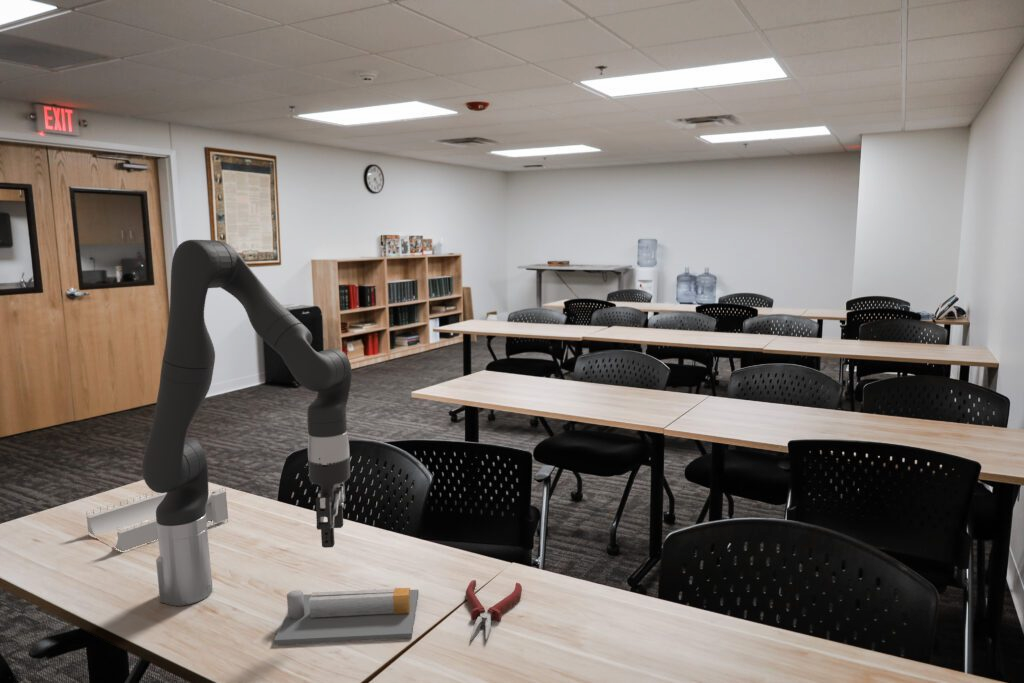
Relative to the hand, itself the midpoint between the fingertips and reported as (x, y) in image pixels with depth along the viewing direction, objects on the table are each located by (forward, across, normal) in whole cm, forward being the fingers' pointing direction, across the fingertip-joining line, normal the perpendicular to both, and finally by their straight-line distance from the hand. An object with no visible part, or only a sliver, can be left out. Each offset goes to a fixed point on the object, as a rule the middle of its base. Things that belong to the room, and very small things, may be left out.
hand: (333, 536), depth 129 cm
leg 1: (+16, -1, +5) cm, 16 cm away
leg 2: (+16, +1, +5) cm, 16 cm away
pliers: (+17, -1, +28) cm, 33 cm away
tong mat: (+17, 0, +3) cm, 17 cm away
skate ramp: (+18, -48, -55) cm, 75 cm away
